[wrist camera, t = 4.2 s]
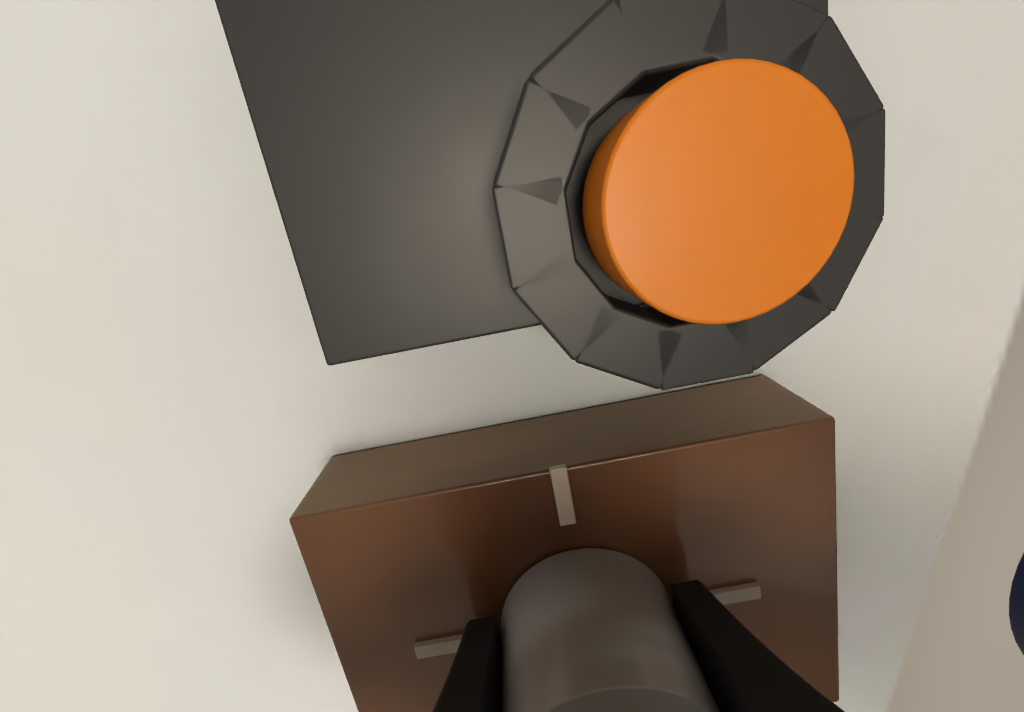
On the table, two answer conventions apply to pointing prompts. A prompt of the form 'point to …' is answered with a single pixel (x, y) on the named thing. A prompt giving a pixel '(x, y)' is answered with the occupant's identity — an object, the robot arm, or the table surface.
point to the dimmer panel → (578, 526)
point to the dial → (596, 640)
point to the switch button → (720, 192)
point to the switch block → (511, 165)
